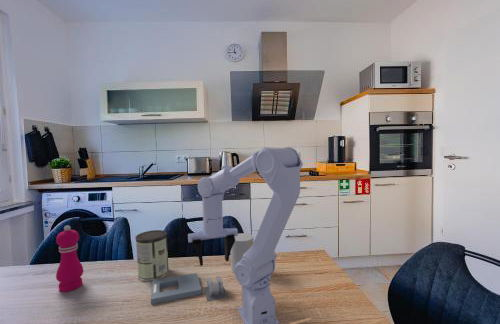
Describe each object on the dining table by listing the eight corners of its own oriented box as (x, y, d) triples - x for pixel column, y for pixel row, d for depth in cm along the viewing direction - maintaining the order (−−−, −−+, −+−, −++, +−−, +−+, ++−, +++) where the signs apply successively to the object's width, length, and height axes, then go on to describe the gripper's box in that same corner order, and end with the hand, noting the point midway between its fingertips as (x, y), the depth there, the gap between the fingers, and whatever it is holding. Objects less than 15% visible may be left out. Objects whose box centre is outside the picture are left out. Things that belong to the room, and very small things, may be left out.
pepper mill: (70, 293, 79) (66, 229, 78) (51, 291, 80) (46, 228, 79) (89, 281, 86) (86, 222, 85) (71, 280, 87) (67, 222, 86)
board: (201, 295, 76) (201, 288, 76) (151, 305, 72) (150, 298, 72) (196, 277, 87) (196, 272, 87) (152, 286, 82) (152, 280, 82)
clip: (223, 294, 76) (222, 282, 76) (209, 297, 75) (209, 284, 74) (220, 287, 80) (220, 276, 79) (207, 289, 78) (207, 278, 78)
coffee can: (146, 267, 96) (144, 229, 95) (173, 267, 95) (171, 230, 94) (131, 281, 86) (129, 239, 85) (161, 282, 85) (159, 239, 84)
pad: (228, 298, 74) (228, 297, 74) (207, 302, 72) (207, 301, 72) (222, 284, 82) (222, 283, 82) (203, 288, 80) (203, 287, 80)
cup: (254, 275, 87) (253, 241, 87) (230, 276, 87) (229, 241, 87) (254, 265, 95) (253, 233, 95) (232, 265, 96) (231, 233, 95)
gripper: (233, 211, 82) (234, 253, 83) (186, 216, 78) (188, 260, 78) (239, 217, 75) (240, 262, 76) (188, 222, 71) (190, 270, 72)
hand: (214, 262), depth 77 cm, fingers open, 7 cm apart
